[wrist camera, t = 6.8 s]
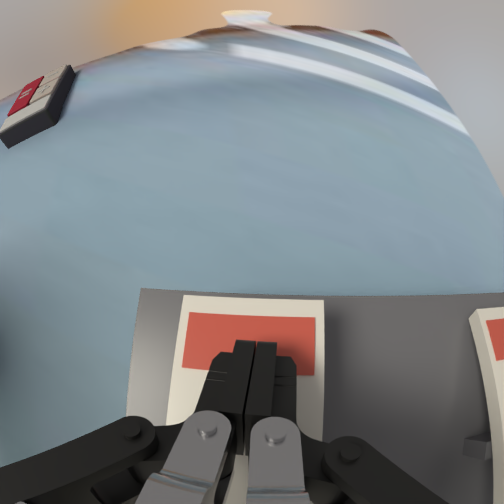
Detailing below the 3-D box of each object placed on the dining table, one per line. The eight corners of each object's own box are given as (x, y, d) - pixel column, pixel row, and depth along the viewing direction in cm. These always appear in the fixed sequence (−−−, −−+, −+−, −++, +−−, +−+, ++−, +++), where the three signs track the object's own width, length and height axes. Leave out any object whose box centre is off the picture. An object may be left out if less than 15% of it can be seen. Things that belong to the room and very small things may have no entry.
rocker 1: (165, 602, 6) (158, 611, 5) (189, 303, 14) (183, 294, 13) (296, 617, 6) (297, 627, 5) (320, 308, 14) (324, 299, 13)
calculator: (69, 60, 40) (44, 105, 33) (78, 78, 44) (57, 125, 37) (23, 84, 40) (-6, 133, 33) (32, 100, 44) (7, 150, 37)
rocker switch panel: (168, 524, 17) (112, 580, 7) (180, 318, 24) (123, 273, 15) (486, 499, 14) (555, 522, 5) (495, 316, 21) (570, 278, 12)
